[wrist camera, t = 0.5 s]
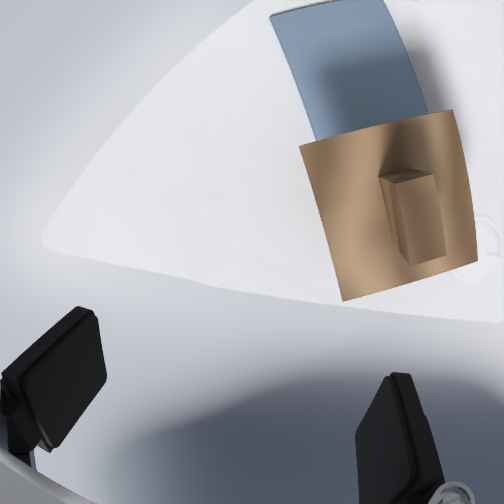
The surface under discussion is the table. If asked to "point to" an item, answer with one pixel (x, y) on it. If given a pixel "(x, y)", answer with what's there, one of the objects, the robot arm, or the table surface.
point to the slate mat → (349, 66)
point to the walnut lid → (393, 202)
